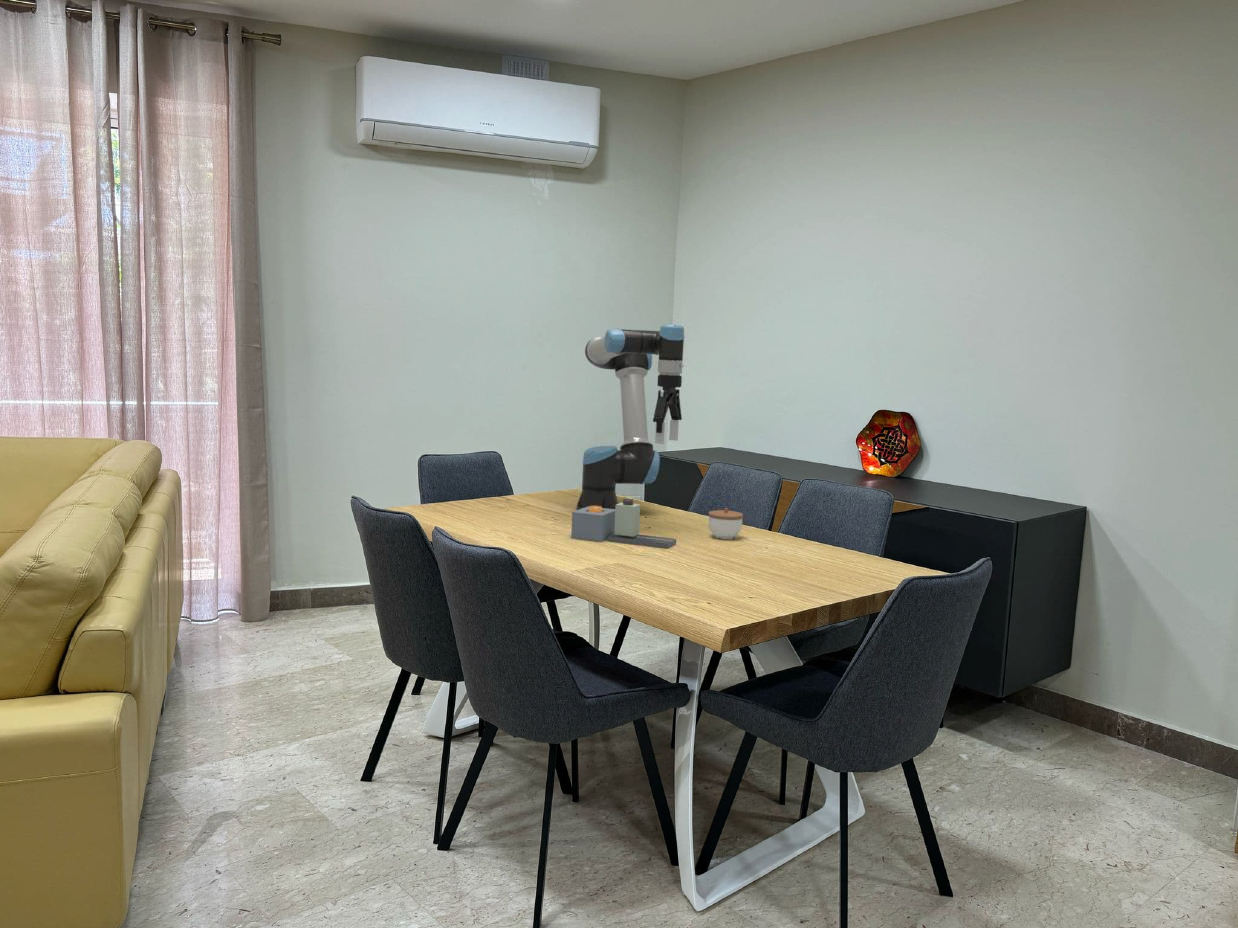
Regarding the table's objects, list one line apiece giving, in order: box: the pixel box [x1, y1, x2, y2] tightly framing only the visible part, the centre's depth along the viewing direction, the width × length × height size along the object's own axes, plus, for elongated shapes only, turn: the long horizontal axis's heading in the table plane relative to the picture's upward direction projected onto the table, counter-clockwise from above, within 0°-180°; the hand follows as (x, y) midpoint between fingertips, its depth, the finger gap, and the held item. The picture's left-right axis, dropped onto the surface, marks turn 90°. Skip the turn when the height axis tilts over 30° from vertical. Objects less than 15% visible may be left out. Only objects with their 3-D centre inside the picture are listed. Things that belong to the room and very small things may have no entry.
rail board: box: [607, 533, 677, 550], centre depth 281 cm, size 19×8×2 cm, turn 68°
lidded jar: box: [708, 507, 744, 540], centre depth 294 cm, size 11×11×9 cm
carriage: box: [614, 498, 641, 537], centre depth 282 cm, size 6×5×10 cm
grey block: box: [570, 506, 615, 543], centre depth 286 cm, size 10×12×8 cm
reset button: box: [589, 506, 602, 513], centre depth 286 cm, size 4×4×6 cm
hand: (666, 442), depth 296 cm, fingers open, 13 cm apart
